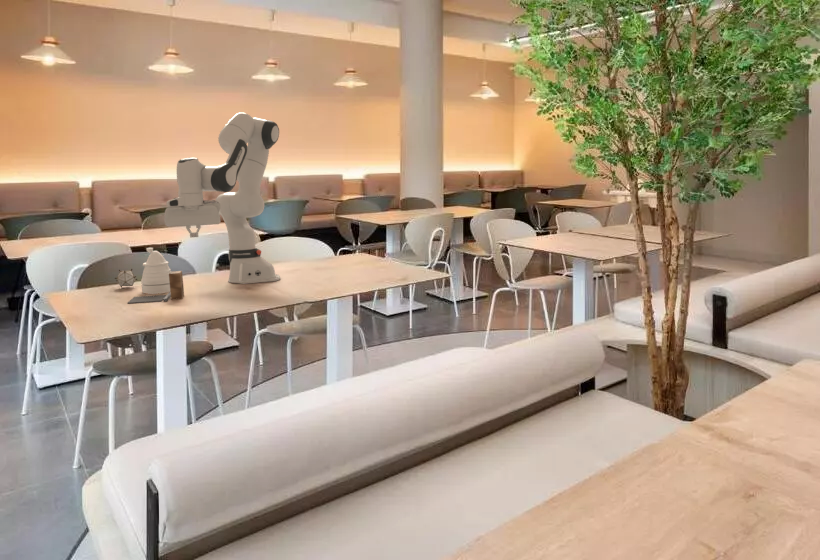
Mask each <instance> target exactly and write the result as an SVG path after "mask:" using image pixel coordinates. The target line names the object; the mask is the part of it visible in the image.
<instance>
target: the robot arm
mask: <svg viewBox="0 0 820 560" xmlns="http://www.w3.org/2000/svg"><path fill="white" fill-rule="evenodd" d="M279 137H280V128H279V125H278V124H277V122H274V121H273V120H270V119H267V120H266V119H264V118H260V117H253V116H251V114H248V113H247V112H237V113H236V114H235V115H233V116H232V117H231V118H230V119H229V120H228V121H227V122H226V123H225V124H224V126H223V127H222V129H221V131H219V134H218V137H217V138H218V140H217V141H218V143H219V146H220V147H221V149H222V151H224V152H225V153H226V154H228V157H227V158H226V161H225V163H223V164H221V165H216V166H214V165H211V166H209V165H208V166H207V165H205V164H203V163H202V162H201V161H199V158H198V157H185V158H180V159H179V160H177V163H176V182H177V185H178V192H177V193H178V194H177V195H178V197H175V198H172V199H169V200H167V201H166V208H165V210H164V225H165V226H166V227H185V229H186V231H187V232H188V233H189V237H190V238H199V232H200V230H201V228H202V226H208V225H209V226H210V225H219V224H220V223H221V218H222V220H223V221H224V224H225V227H226V230H227V235H228V243H229V244H228V245H229V249H228V260H229V274H228V275H229V276H228V283H231V284H232V283H233V284H241V285H244V284H256V283H266V282H267V283H269V282H277V281H280V280H281V275H280V274H276V271H275V267H274V265H273V264H272V263H271V262H269V261H268V260H267V259H265V258H264V257H262V256H261V255H262V250H260V249H259V248H257V247H256V238H255V237H256V236H255V230H254V228H253V227H251V226H250V224H249V222H248V220H247V219H248V218H254V217H257V216H260V215H262V213H263V212H264V211H265V200H264V198H263V196H262V195H261V185H262V181H263V177H264V174H265V170H266V168H267V165H268V160H269V156H270V155H269V154H270V149H271V148H272V147H273V146H274V145H275V144H276V143H277V142H278V141H279ZM237 182H238V189H237V191H232V190H233V189H234V188H235V186H236V184H237ZM204 192H222V193H221V194H219V195H218V196H217V197H216V199H215V200H213V199H212V200H209V199H207V200H204ZM191 226H195V227H196V229H197V230H196V231H195V232H194V231H193V232H192V231H191V228H192V227H191Z"/></svg>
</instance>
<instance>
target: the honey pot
mask: <svg viewBox="0 0 820 560" xmlns="http://www.w3.org/2000/svg"><path fill="white" fill-rule="evenodd" d="M146 252H147V253H149V255H148V257H147V260H146V262H143V263H142V267H144V268H143V271H142V275H141V276H142V278H141V279H140V282H141V293H142V292H143V293H142V294H144V293H148V294H147V295H156V294H158V293H159V294H166V293H167V294H168V293H169V292H170V281H169V273H170V272H171V271H172V270H171V268H170V266H169V264H170V262H169V261H167V260H166V258H165V257H164V256H163V254H162V253H160V251H158V250H154V247H146ZM159 294H158V295H159Z"/></svg>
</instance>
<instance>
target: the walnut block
mask: <svg viewBox="0 0 820 560" xmlns="http://www.w3.org/2000/svg"><path fill="white" fill-rule="evenodd" d="M169 281H170V292H171V297H170V299H171V300H172V301H173V300H182V299H183V298H184V297H185V291H184V288H185V287H184V279H183V270H177V271H176V270H174V271H172V270H171V272H170V273H169Z"/></svg>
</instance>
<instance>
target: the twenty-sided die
mask: <svg viewBox="0 0 820 560" xmlns="http://www.w3.org/2000/svg"><path fill="white" fill-rule="evenodd" d="M114 279H115V280H116V282H117V283H118V285H119V286H120V287H121V288H123V287H122V286H133V287H134V283H135V282H136V280H138V278H137V276H135V275H134V273H133V268H131V269H129V270H120V269H118V274H117V276H116V277H114Z"/></svg>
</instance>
